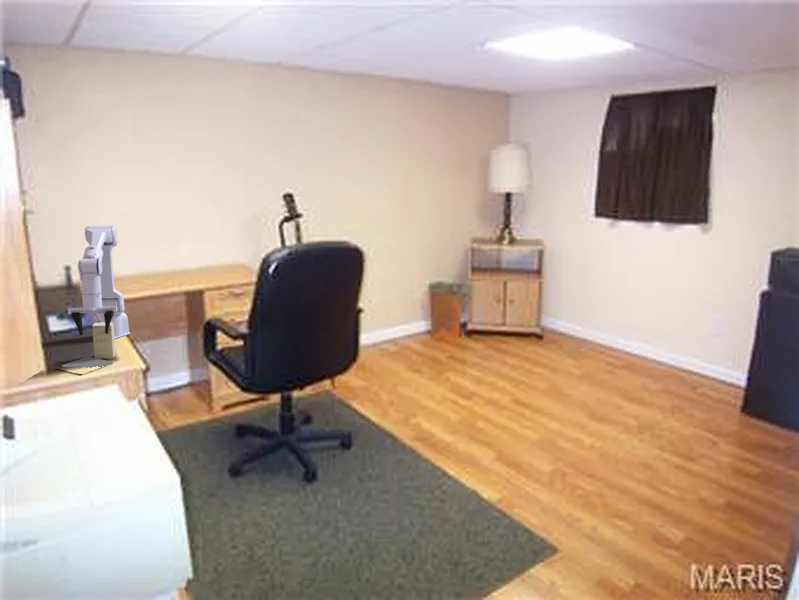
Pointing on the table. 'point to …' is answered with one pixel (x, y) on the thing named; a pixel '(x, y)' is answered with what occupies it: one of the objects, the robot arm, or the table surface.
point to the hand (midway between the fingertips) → (94, 334)
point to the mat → (87, 363)
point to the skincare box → (103, 341)
